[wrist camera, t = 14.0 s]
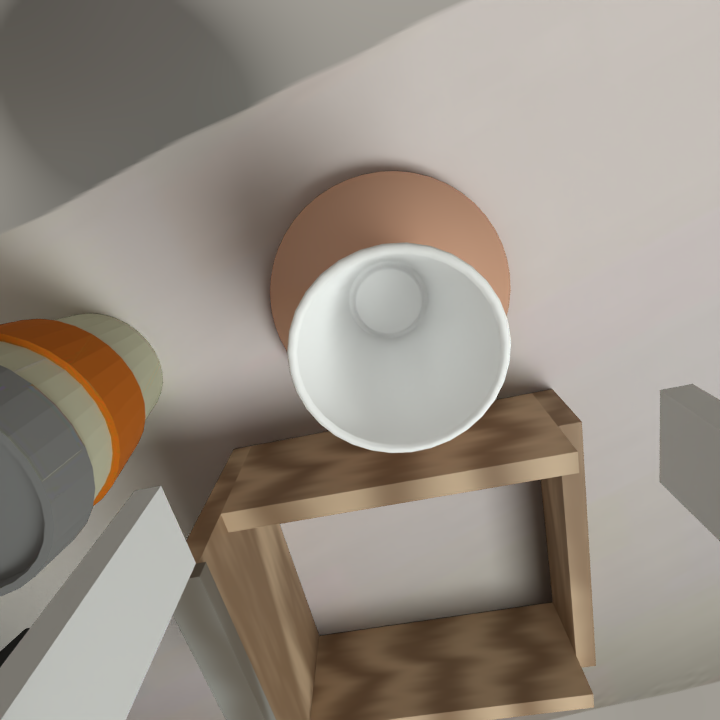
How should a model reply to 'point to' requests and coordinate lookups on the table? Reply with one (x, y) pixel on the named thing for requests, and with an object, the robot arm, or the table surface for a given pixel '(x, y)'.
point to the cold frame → (397, 642)
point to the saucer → (382, 233)
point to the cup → (399, 347)
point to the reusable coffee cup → (65, 429)
